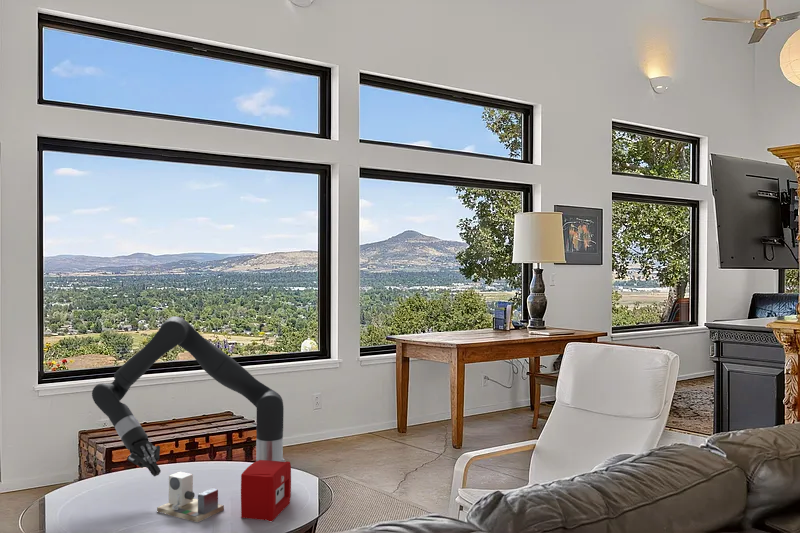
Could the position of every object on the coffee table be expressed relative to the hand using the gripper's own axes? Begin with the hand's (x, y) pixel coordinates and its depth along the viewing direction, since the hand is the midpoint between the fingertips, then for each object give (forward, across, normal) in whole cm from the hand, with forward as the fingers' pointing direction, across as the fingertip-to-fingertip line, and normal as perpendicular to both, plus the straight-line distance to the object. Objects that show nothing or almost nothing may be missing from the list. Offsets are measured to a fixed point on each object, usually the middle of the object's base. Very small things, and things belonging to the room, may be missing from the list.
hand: (157, 474), depth 246 cm
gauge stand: (+17, 0, -4) cm, 17 cm away
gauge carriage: (+13, -2, -3) cm, 14 cm away
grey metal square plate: (+21, 0, -10) cm, 23 cm away
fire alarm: (+32, +12, -18) cm, 39 cm away
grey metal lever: (+15, -5, -5) cm, 16 cm away
